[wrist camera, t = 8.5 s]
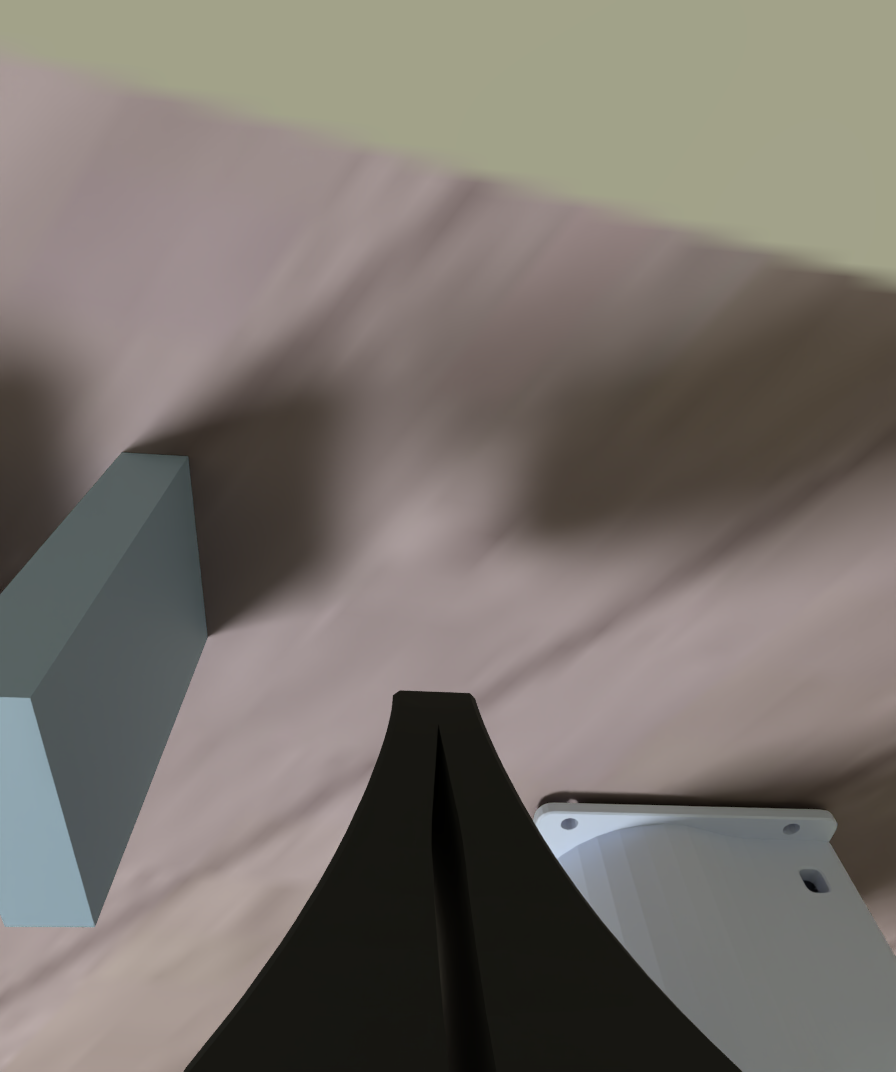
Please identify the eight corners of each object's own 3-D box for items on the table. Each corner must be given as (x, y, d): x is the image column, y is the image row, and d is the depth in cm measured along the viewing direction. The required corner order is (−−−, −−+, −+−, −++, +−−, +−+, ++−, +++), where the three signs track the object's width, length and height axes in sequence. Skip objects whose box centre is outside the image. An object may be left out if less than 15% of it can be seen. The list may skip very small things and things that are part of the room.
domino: (188, 456, 16) (31, 698, 9) (207, 637, 18) (94, 927, 12) (122, 452, 15) (-86, 693, 9) (150, 634, 18) (4, 926, 11)
